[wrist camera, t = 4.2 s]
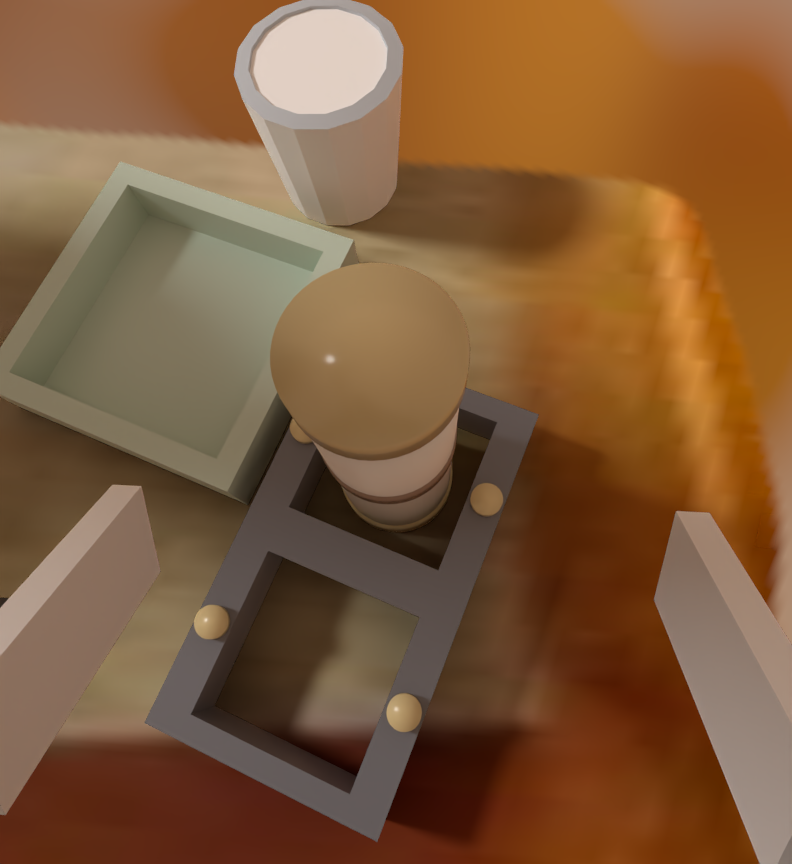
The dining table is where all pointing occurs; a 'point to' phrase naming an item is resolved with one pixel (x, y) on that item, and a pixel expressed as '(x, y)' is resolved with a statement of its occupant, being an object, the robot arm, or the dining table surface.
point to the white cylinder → (327, 104)
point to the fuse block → (355, 567)
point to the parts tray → (168, 327)
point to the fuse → (377, 386)
